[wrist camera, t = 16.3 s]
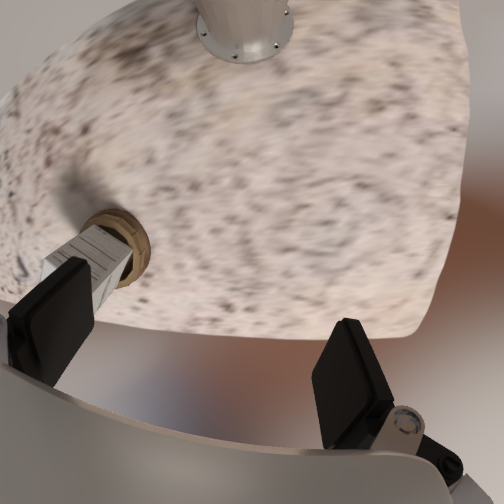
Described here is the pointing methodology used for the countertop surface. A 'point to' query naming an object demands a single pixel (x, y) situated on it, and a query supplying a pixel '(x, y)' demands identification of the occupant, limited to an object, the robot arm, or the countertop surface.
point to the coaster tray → (125, 241)
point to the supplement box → (93, 260)
